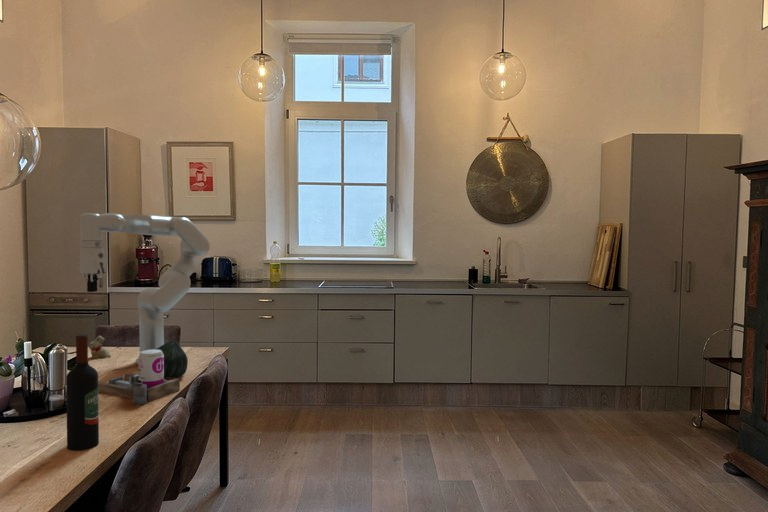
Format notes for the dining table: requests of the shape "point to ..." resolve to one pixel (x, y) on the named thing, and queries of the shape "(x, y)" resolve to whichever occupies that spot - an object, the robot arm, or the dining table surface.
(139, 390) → the bay
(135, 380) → the follower
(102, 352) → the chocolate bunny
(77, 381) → the wine bottle
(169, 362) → the squash
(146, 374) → the supplement can
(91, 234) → the robot arm
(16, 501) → the dining table surface
